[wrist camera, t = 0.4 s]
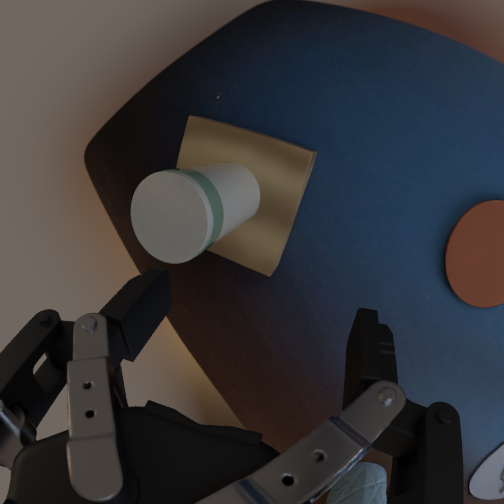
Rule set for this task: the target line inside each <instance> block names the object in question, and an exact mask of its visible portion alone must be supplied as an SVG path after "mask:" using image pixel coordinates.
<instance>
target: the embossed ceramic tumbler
mask: <svg viewBox="0 0 504 504" xmlns="http://www.w3.org/2000/svg"><path fill="white" fill-rule="evenodd" d="M386 486H387V484H386V471H385V469H384V468H383V467H381V466H380V465H377V464H374V463H369V462H357V463H356V464H355V465H354V466H353V467H352V468H351V469H350V470H349V471H348V472H347V473H346V474H345V475H344V476H343V477H342V478H341V479H340V480H338V481H337V482H336V483H335V484H334V485H333V486H332V487H331V490H330V492H329V495H328V498H327V501H326V504H387V500H386V498H387V496H386V488H387V487H386Z"/></svg>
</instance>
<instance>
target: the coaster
mask: <svg viewBox="0 0 504 504" xmlns="http://www.w3.org/2000/svg"><path fill="white" fill-rule="evenodd" d="M445 270H446V275H447V278H448V281H449V283H450V285H451V287H452V289H453V290H454V292H455V293H456V295H457V296H458V297H459V298H460V299H462V300H463V301H464V302H466V303H468V304H470V305H472V306H476V307H484V308H486V307H493V306H497V305H499V304H502V303H504V200H487V201H483V202H480V203H478V204H476V205H474V206H473V207H471V208H470V209H468V210H467V211H466V212H465V213H464V214H463V215H462V216H461V217H460V219H459V220H458V221H457V223H456V224H455V226H454V227H453V229H452V231H451V233H450V236H449V239H448V242H447V245H446V251H445Z"/></svg>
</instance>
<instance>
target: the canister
mask: <svg viewBox="0 0 504 504" xmlns="http://www.w3.org/2000/svg"><path fill="white" fill-rule="evenodd" d="M259 203H260V189H259V185H258V183H257V180H256V179H255V177H254V175H253V174H252V173H251V172H250V171H249V170H248V169H247V168H246V167H244V166H243V165H241V164H238V163H235V162H219V163H212V164H205V165H198V166H192V167H185V168H175V169H168V170H163V171H160V172H157V173H154V174H151V175H150V176H148V177H146V178H145V179H144V180H143V181H142V182H141V183H140V184H139V186H138V187H137V189H136V191H135V193H134V195H133V198H132V203H131V221H132V225H133V229H134V232H135V234H136V236H137V238H138V240H139V242H140V243H141V245H142V246H143V247H144V248H145V249H146V251H148V252H149V253H150V254H151V255H152V256H154V257H155V258H157V259H159V260H161V261H163V262H167V263H173V264H175V263H183V262H186V261H189V260H190V259H193V258H195V257H196V256H198V255H199V254H201V253H202V252H204V251H205V250H207V249H208V248H210V247H211V246H212V245H213V244H215V243H216V242H218V241H219V240H221V239H222V238H224V237H225V236H227V235H228V234H230V233H231V232H233V231H234V230H236V229H237V228H239V227H240V226H242V225H243V224H245V223H246V222H248V221H249V220H250V219H251V218H252V217H253V216H254V215H255V213H256V211H257V209H258V207H259Z"/></svg>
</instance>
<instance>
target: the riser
mask: <svg viewBox="0 0 504 504" xmlns="http://www.w3.org/2000/svg"><path fill="white" fill-rule="evenodd" d="M317 153H318V152H316V151H313V150H311V149H308V148H305V147H302V146H299V145H296V144H293V143H290V142H287V141H284V140H281V139H278V138H275V137H272V136H269V135H265V134H262V133H259V132H255V131H252V130H249V129H245V128H242V127H238V126H235V125H231V124H228V123H224V122H220V121H216V120H213V119H209V118H205V117H198V116H189V118H188V122H187V125H186V129H185V133H184V137H183V141H182V145H181V149H180V154H179V158H178V162H177V166H176V168H185V167H192V166H198V165H205V164H212V163H219V162H235V163H238V164H241V165H243V166H244V167H246V168H247V169H248V170H249V171H250V172H251V173H252V174H253V175H254V177H255V179H256V180H257V183H258V185H259V189H260V203H259V207H258V209H257V211H256V213H255V215H254V216H253V217H252V218H251V219H250V220H249V221H248V222H246V223H245V224H243V225H242V226H240V227H239V228H237V229H236V230H234V231H233V232H231V233H230V234H228V235H227V236H225V237H224V238H222V239H221V240H219V241H218V242H216V243H215V244H213V245H212V246H211V247H210V248H208V249H207V250H209V251H211V252H213V253H216V254H218V255H220V256H223V257H225V258H227V259H229V260H232V261H234V262H236V263H239V264H241V265H243V266H246V267H248V268H250V269H252V270H255V271H257V272H259V273H262V274H264V275H266V276H269V277H270V276H271V275H272V273H273V272H274V271H275V269H276V268H277V267H278V265H279V262H280V259H281V256H282V254H283V251H284V248H285V245H286V243H287V240H288V237H289V234H290V231H291V229H292V226H293V223H294V220H295V217H296V214H297V211H298V209H299V206H300V203H301V200H302V197H303V194H304V191H305V188H306V186H307V183H308V180H309V177H310V174H311V171H312V168H313V165H314V162H315V159H316V156H317Z"/></svg>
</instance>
